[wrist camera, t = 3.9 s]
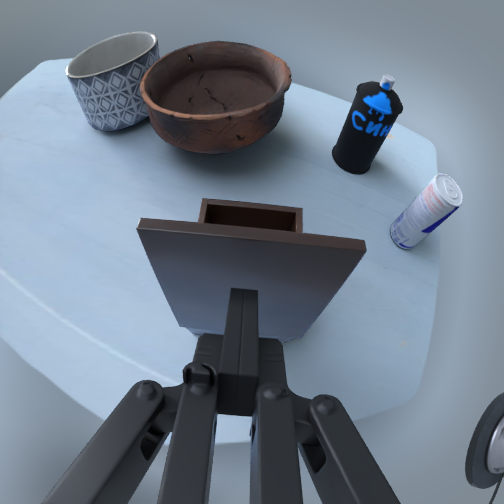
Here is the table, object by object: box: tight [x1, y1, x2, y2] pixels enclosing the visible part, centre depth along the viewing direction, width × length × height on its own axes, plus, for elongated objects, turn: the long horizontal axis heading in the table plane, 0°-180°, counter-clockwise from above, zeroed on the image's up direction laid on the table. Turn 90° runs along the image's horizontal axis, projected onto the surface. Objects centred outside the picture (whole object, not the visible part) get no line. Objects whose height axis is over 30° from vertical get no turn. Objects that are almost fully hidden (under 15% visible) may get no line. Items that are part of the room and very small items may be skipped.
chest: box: [186, 198, 303, 342], centre depth 36 cm, size 16×13×9 cm
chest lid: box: [136, 218, 366, 338], centre depth 22 cm, size 16×13×1 cm
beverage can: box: [391, 173, 463, 249], centre depth 38 cm, size 6×6×15 cm
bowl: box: [140, 41, 292, 154], centre depth 44 cm, size 25×25×15 cm
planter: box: [66, 32, 160, 131], centre depth 46 cm, size 19×19×16 cm
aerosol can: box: [332, 75, 403, 174], centre depth 42 cm, size 8×8×20 cm
